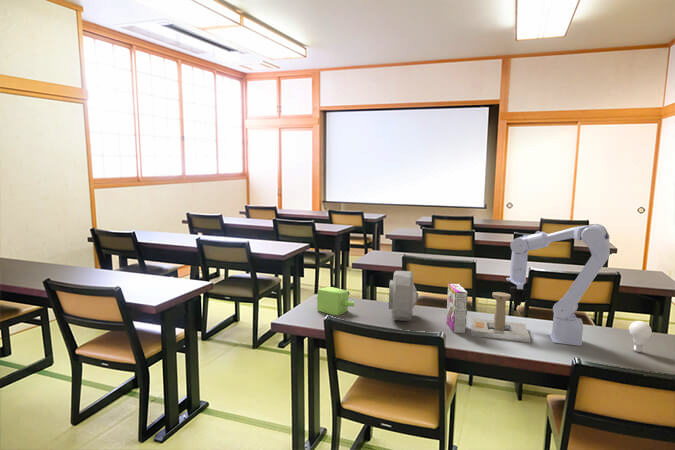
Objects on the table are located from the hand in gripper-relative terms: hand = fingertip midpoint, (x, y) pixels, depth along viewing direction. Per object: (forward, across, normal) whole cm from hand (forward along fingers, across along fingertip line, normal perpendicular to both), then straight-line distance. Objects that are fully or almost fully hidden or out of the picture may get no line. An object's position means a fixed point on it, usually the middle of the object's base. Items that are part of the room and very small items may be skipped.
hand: (515, 302), depth 168 cm
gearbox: (+11, +2, -72) cm, 73 cm away
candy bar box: (+11, +7, -22) cm, 26 cm away
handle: (+11, +6, -6) cm, 14 cm away
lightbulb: (+10, +11, +39) cm, 42 cm away
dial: (+11, +3, -43) cm, 45 cm away
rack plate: (+10, +6, -6) cm, 14 cm away
